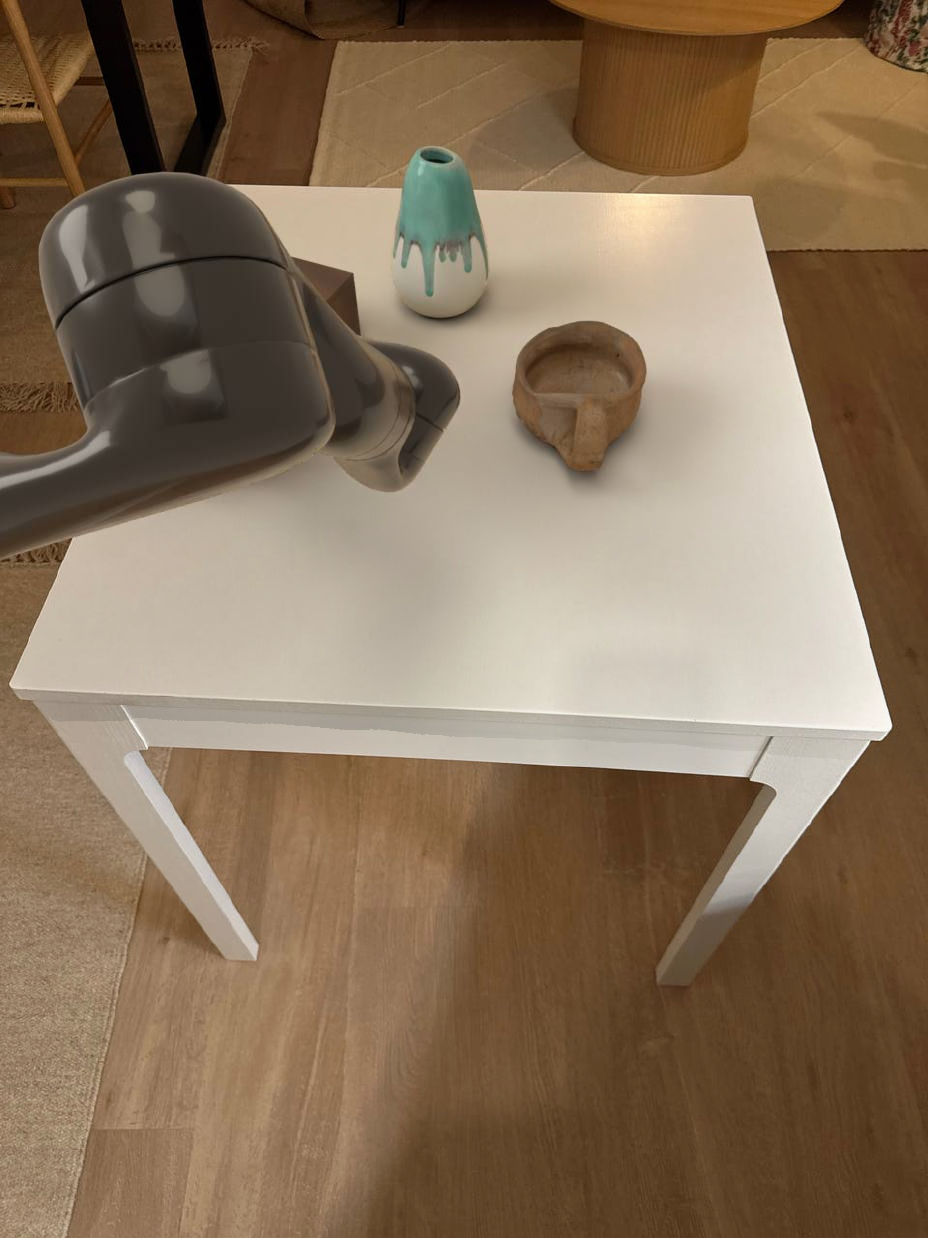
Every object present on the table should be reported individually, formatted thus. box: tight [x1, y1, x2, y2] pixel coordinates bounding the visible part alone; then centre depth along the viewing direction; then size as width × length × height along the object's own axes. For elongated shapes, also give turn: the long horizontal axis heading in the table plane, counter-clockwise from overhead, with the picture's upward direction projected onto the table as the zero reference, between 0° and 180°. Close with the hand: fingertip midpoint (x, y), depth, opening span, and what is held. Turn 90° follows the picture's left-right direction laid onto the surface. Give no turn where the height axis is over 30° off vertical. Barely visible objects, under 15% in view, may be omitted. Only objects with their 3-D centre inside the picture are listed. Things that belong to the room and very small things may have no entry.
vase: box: [390, 145, 490, 319], centre depth 102 cm, size 12×12×18 cm
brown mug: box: [511, 320, 647, 472], centre depth 91 cm, size 18×14×10 cm
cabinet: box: [290, 255, 362, 336], centre depth 99 cm, size 15×13×9 cm
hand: (148, 249), depth 80 cm, fingers closed on soda can, 4 cm apart
